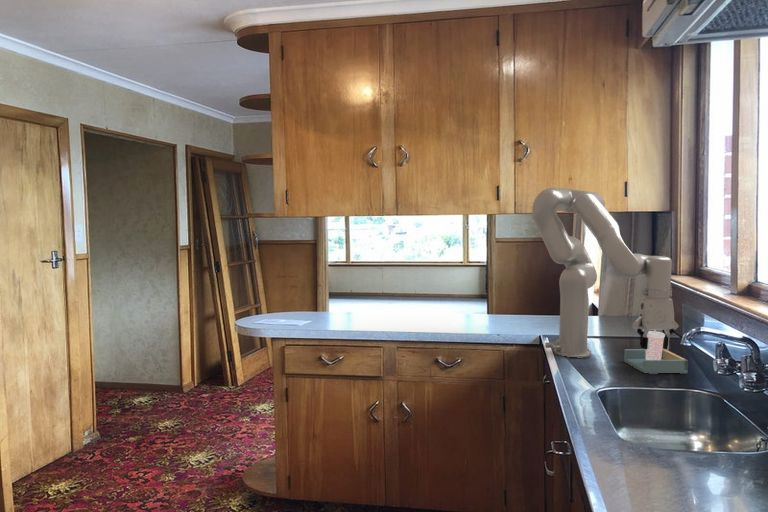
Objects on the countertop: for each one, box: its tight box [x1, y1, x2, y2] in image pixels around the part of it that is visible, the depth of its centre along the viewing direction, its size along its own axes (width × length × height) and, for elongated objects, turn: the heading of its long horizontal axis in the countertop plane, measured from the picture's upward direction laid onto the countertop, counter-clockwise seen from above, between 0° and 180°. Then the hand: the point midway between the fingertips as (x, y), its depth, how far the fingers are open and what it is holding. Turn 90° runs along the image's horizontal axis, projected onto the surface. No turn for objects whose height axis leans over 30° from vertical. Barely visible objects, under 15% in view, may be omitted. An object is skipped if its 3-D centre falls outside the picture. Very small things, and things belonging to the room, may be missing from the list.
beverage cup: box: [646, 330, 665, 360], centre depth 192 cm, size 6×6×14 cm
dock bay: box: [623, 348, 689, 375], centre depth 193 cm, size 14×14×4 cm
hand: (653, 347), depth 192 cm, fingers closed on beverage cup, 6 cm apart
